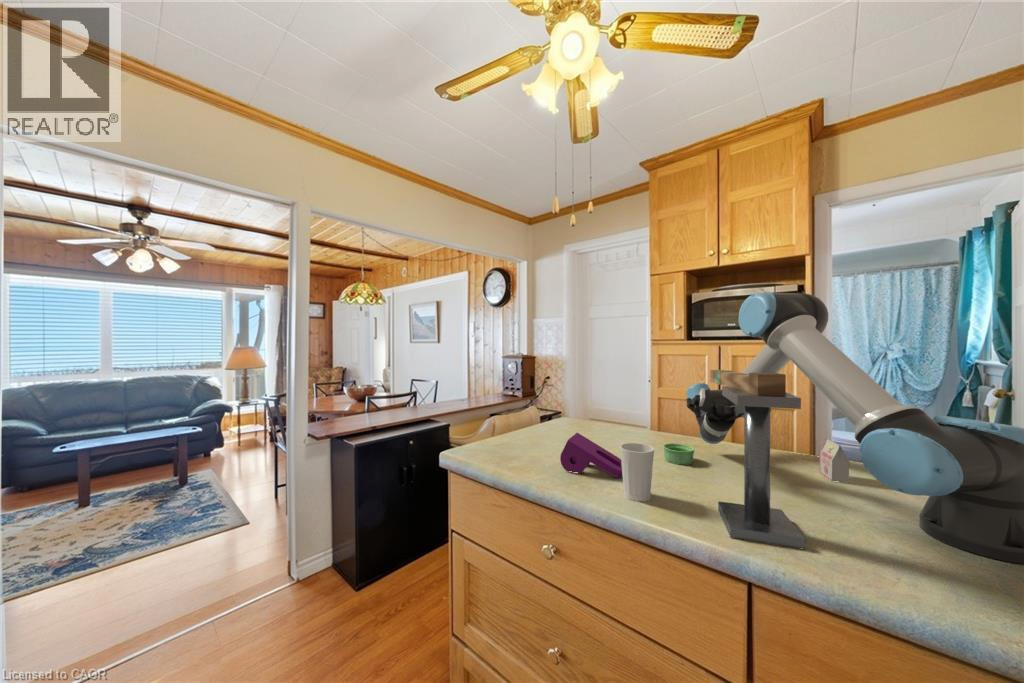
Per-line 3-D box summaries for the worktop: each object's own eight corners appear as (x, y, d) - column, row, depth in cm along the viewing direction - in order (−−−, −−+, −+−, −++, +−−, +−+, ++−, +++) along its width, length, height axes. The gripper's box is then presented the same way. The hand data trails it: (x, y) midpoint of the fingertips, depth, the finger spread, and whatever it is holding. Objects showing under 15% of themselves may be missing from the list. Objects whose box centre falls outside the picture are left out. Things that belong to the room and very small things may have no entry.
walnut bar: (785, 396, 69) (785, 374, 69) (757, 395, 69) (757, 374, 69) (726, 382, 91) (726, 365, 91) (705, 382, 91) (705, 365, 91)
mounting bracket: (618, 488, 108) (566, 454, 116) (630, 465, 107) (577, 432, 114) (611, 501, 100) (556, 463, 107) (625, 475, 98) (567, 439, 106)
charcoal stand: (807, 552, 66) (807, 398, 65) (731, 540, 70) (731, 395, 69) (778, 515, 79) (778, 387, 79) (716, 507, 83) (716, 385, 83)
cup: (619, 500, 87) (619, 450, 87) (621, 487, 95) (621, 441, 95) (654, 505, 84) (654, 454, 84) (653, 491, 92) (653, 444, 92)
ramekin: (692, 467, 109) (692, 453, 109) (660, 462, 114) (660, 448, 114) (696, 459, 116) (696, 445, 116) (666, 454, 121) (666, 441, 121)
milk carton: (835, 474, 103) (835, 439, 103) (848, 483, 97) (848, 446, 97) (819, 473, 104) (819, 438, 104) (831, 481, 98) (832, 444, 98)
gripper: (768, 435, 105) (793, 411, 88) (674, 428, 113) (680, 405, 96) (764, 410, 108) (787, 382, 91) (673, 406, 117) (679, 379, 100)
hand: (732, 394), depth 94 cm, fingers open, 13 cm apart
